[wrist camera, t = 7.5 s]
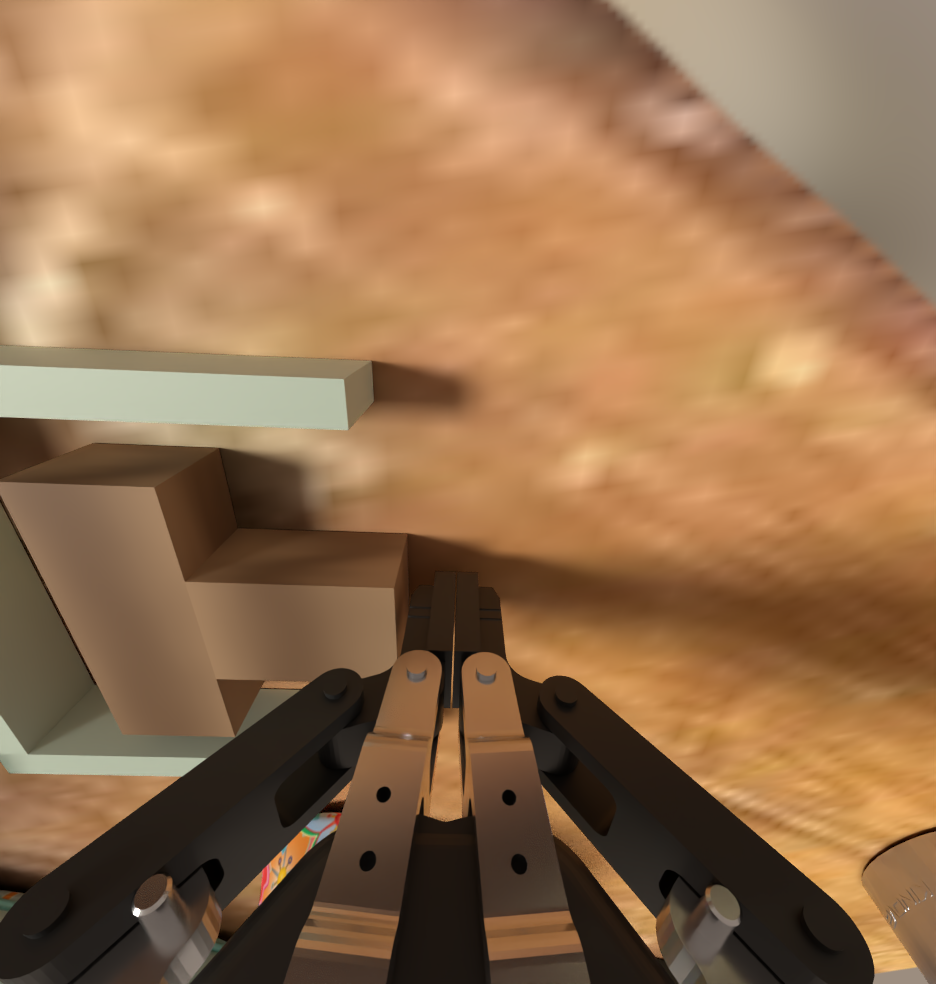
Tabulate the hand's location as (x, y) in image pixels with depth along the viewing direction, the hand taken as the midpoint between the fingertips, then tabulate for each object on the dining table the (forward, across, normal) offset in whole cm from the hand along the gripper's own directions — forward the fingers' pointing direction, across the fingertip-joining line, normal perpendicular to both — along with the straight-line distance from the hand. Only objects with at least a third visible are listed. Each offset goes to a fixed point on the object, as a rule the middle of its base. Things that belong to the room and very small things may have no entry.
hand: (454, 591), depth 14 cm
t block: (+1, +7, 0) cm, 7 cm away
